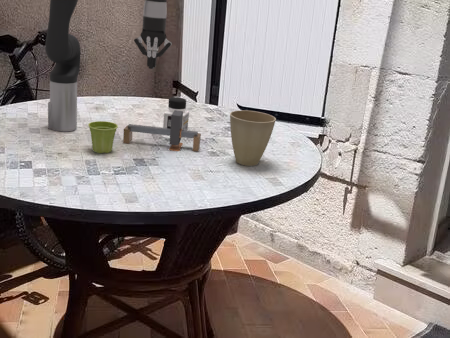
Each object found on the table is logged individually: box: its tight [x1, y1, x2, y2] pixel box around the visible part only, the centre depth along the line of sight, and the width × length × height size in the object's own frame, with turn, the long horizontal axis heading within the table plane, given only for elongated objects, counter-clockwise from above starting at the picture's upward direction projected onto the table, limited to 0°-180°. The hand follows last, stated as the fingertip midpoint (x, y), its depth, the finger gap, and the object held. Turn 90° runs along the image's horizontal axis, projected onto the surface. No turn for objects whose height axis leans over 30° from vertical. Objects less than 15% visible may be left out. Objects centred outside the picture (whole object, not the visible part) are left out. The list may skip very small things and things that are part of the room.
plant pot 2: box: [229, 109, 277, 167], centre depth 183 cm, size 15×15×16 cm
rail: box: [122, 123, 202, 152], centre depth 193 cm, size 26×9×6 cm, turn 87°
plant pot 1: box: [87, 120, 119, 154], centre depth 181 cm, size 9×9×9 cm
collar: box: [169, 110, 183, 145], centre depth 192 cm, size 3×7×10 cm, turn 177°
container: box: [162, 96, 190, 131], centre depth 210 cm, size 8×8×13 cm
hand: (151, 68), depth 188 cm, fingers closed
